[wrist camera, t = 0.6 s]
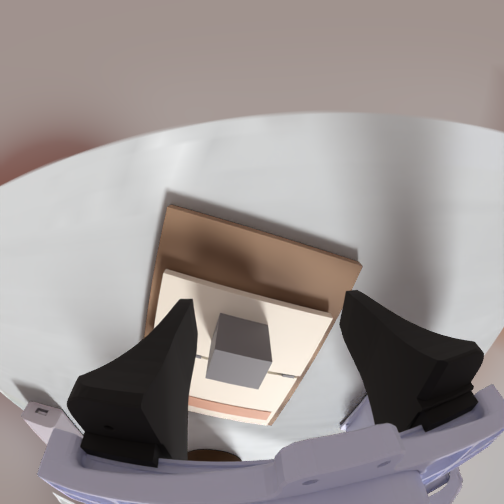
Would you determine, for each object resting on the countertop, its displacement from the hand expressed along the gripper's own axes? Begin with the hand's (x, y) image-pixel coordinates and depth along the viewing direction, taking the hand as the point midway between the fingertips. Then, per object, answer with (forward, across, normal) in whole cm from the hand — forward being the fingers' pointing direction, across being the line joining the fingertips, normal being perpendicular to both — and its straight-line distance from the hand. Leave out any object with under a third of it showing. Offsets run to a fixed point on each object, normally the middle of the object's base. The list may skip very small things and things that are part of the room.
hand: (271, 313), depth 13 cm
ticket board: (+9, +2, +10) cm, 14 cm away
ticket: (+8, +4, +15) cm, 18 cm away
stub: (+8, +2, +7) cm, 11 cm away
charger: (+10, +34, +35) cm, 50 cm away
